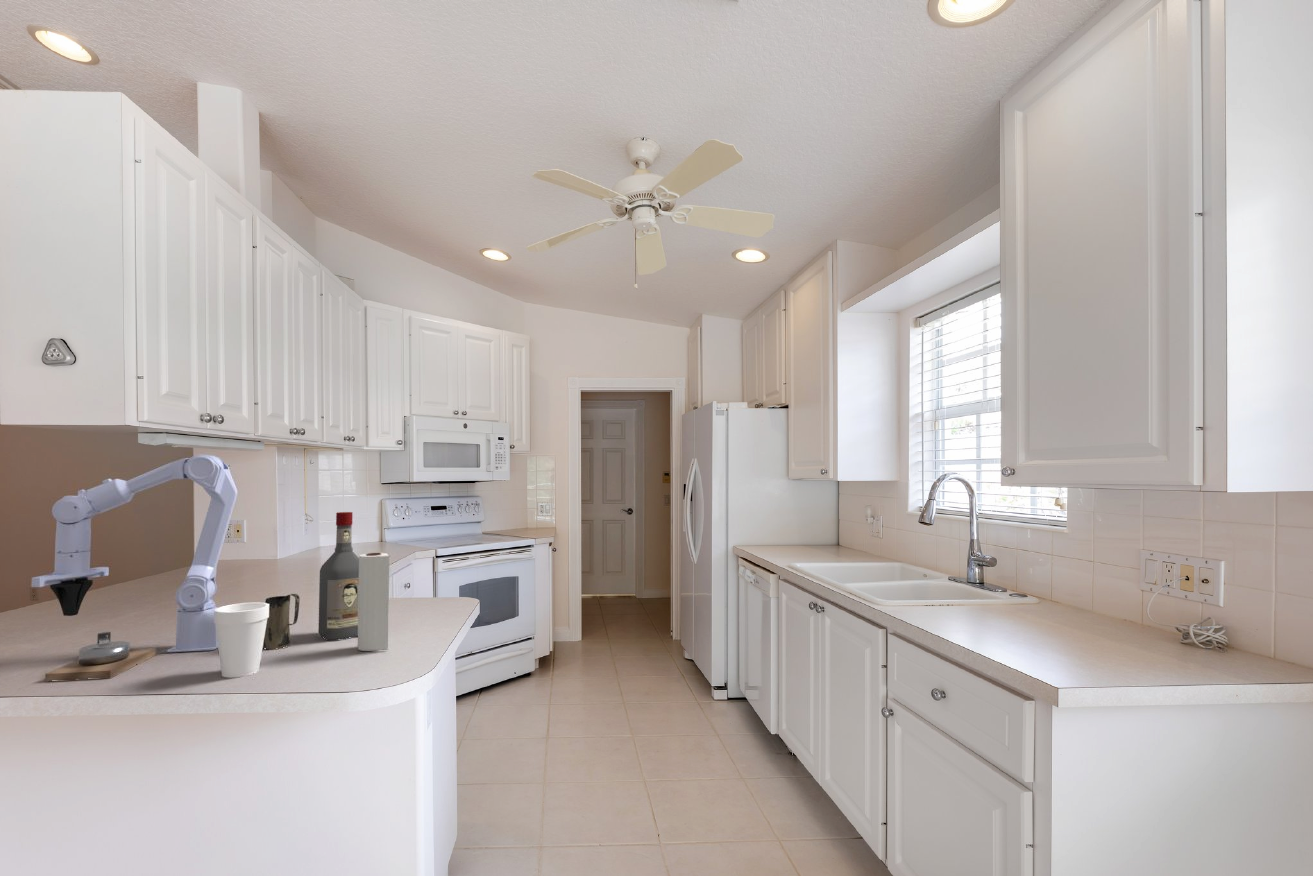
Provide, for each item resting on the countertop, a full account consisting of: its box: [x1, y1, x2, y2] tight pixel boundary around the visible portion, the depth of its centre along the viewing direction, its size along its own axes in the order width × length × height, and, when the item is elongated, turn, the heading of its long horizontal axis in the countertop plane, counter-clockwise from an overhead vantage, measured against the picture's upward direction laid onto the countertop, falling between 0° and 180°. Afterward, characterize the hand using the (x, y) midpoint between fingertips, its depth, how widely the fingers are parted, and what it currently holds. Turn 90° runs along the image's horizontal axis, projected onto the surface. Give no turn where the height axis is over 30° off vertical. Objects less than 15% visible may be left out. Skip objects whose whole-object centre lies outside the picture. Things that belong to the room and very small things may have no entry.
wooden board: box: [44, 647, 157, 682], centre depth 135 cm, size 11×16×2 cm
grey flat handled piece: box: [78, 631, 131, 665], centre depth 137 cm, size 15×8×3 cm, turn 41°
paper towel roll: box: [357, 552, 391, 652], centre depth 149 cm, size 7×6×21 cm
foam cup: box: [214, 602, 269, 679], centre depth 132 cm, size 10×9×13 cm
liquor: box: [318, 511, 359, 641], centre depth 161 cm, size 9×9×30 cm
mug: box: [262, 593, 300, 650], centre depth 151 cm, size 8×6×12 cm
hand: (70, 615), depth 141 cm, fingers closed
